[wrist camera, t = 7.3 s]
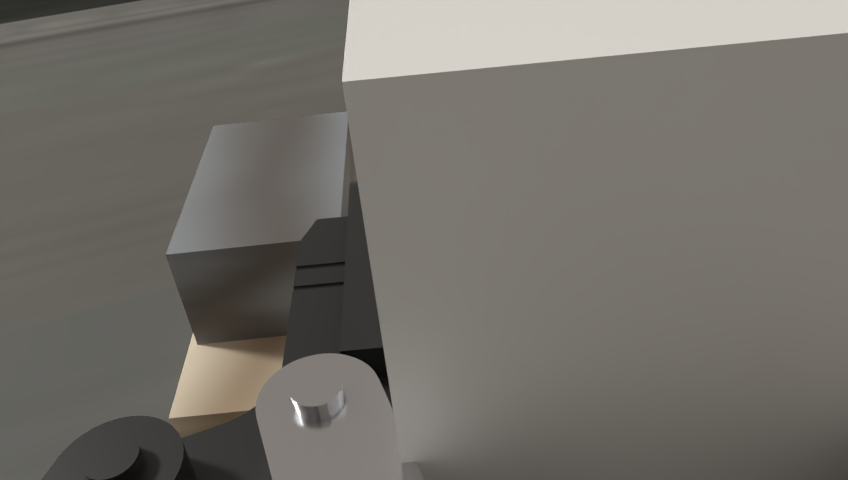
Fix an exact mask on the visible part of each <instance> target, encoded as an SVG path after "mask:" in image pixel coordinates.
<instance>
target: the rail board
mask: <svg viewBox="0 0 848 480" xmlns="http://www.w3.org/2000/svg"><path fill="white" fill-rule="evenodd" d="M352 181H357V176H356V169H355V163H354V156H353V150H352V143H351V137H350V131H349V124H348V118H347V112H337V113H328V114H319V115H310V116H300V117H291V118H282V119H272V120H263V121H254V122H244V123H235V124H226V125H217V126H213V129H212V131H211V134H210V137H209V139H208V142H207V145H206V147H205V150H204V153H203V156H202V158H201V161H200V164H199V166H198V169H197V172H196V174H195V177H194V180H193V183H192V185H191V188H190V191H189V193H188V196H187V199H186V201H185V204H184V207H183V209H182V212H181V215H180V218H179V220H178V223H177V226H176V228H175V231H174V234H173V236H172V239H171V242H170V245H169V247H168V250H167V253H166V257H167V260H168V262H169V265H170V268H171V271H172V274H173V277H174V279H175V282H176V285H177V288H178V291H179V294H180V297H181V299H182V302H183V305H184V308H185V311H186V314H187V316H188V319H189V322H190V325H191V328H192V331H193V335H192V338H191V342H190V345H189V349H188V352H187V356H186V359H185V363H184V366H183V370H182V373H181V377H180V380H179V384H178V387H177V391H176V394H175V398H174V401H173V405H172V408H171V412H170V415H169V420H170V423H171V425H172V426H173V427H174V428H175V429H176V430H177V432H178V433H179V435H180V437H181V438H184V437H187V436H189V435H192V434H195V433H198V432H201V431H204V430H206V429H209V428H212V427H215V426H218V425H221V424H223V423H226V422H228V421H231V420H233V419H235V418H237V417H239V416H241V415H243V414H245V413H246V412H248V411H249V410H251V409H252V408H254V407H255V406H256V401H257V398H258V395H259V392H260V391H261V389H262V387H263V385H264V384H265V383H266V382H267V380H268V379H269V378H270V377H271V376H272V375H273V374H275V373H276V372H277V371H278V370H280V369H281V368H282V363H283V356H284V349H285V342H286V335H287V328H288V321H289V313H290V306H291V299H292V292H293V291H294V287H293V285H294V278H295V271H297V269H296V264H297V256H298V249H299V242H300V241H301V239H302V238H303V237H304V235H305V234H306V233H307V231H308V230H309V229H310V228H311V226H312V225H313V224H314V222H315V221H316V220H317V219H324V218H334V217H345V216H348V204H349V187H350V182H352Z"/></svg>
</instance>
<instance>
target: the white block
mask: <svg viewBox="0 0 848 480" xmlns="http://www.w3.org/2000/svg"><path fill="white" fill-rule="evenodd" d="M342 86H343V92H344V99H345V105H346V111H347V118H348V124H349V131H350V137H351V143H352V150H353V156H354V163H355V169H356V176H357V182H358V188H359V195H360V201H361V208H362V214H363V221H364V227H365V233H366V240H367V246H368V253H369V259H370V266H371V272H372V278H373V285H374V291H375V298H376V304H377V310H378V317H379V323H380V330H381V336H382V343H383V349H384V355H385V362H386V368H387V375H388V381H389V388H390V394H391V400H392V407H393V413H394V420H395V426H396V433H397V439H398V445H399V452H400V458H401V463H405V462H417V464H418V467H419V469H420V471H421V473H422V476H423V478H424V480H848V0H350V3H349V13H348V23H347V34H346V44H345V55H344V65H343V76H342Z"/></svg>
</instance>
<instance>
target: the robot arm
mask: <svg viewBox="0 0 848 480" xmlns="http://www.w3.org/2000/svg"><path fill="white" fill-rule="evenodd" d="M296 269H297V271H295V278H294V285H293V287H294V291H293V292H292V299H291V306H290V313H289V321H288V328H287V335H286V342H285V349H284V356H283V363H282V368H281V369H280V370H278V371H277V372H276V373H275V374H273V375H272V376H271V377H270V378H269V379H268V380H267V382H266V383H265V384H264V385H263V387H262V389H261V391H260V392H259V395H258V398H257V401H256V406H255V407H254V408H252V409H251V410H249V411H248V412H246V413H245V414H243V415H241V416H239V417H237V418H235V419H233V420H231V421H228V422H226V423H223V424H221V425H218V426H215V427H212V428H209V429H206V430H204V431H201V432H198V433H195V434H192V435H189V436H187V437H184V438H181V437H180V435H179V433H178V432H177V430H176V429H175V428H174V427H173V426H171V425H170V424H169V423H167V422H165V421H163V420H161V419H158V418H154V417H149V416H131V417H124V418H119V419H115V420H112V421H109V422H106V423H104V424H102V425H99V426H97V427H95V428H93V429H91V430H90V431H88V432H86V433H84V434H83V435H82V436H80V437H79V438H78V439H76V440H75V441H74V442H72V443H71V444H70V445H69V446H68V447H67V448H66V449H65V450H64V451H63V452H62V454H61V455H60V456H59V457H58V458H57V460H56V461H55V462H54V464H53V465H52V466H51V468H50V469H49V470H48V472H47V473H46V474H45V476H44V477H43V478H42V480H424V478H423V476H422V473H421V471H420V469H419V467H418V464H417V462H405V463H401V458H400V452H399V445H398V439H397V433H396V426H395V420H394V413H393V407H392V400H391V394H390V388H389V381H388V375H387V368H386V362H385V355H384V349H383V343H382V336H381V330H380V323H379V317H378V310H377V304H376V298H375V291H374V285H373V278H372V272H371V266H370V259H369V253H368V246H367V240H366V233H365V227H364V221H363V214H362V208H361V201H360V195H359V188H358V182H357V181H352V182H350V187H349V204H348V216H345V217H334V218H324V219H317V220H316V221H315V222H314V224H313V225H312V226H311V228H310V229H309V230H308V231H307V233H306V234H305V235H304V237H303V238H302V239H301V241H300V242H299V249H298V256H297V264H296Z"/></svg>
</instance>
